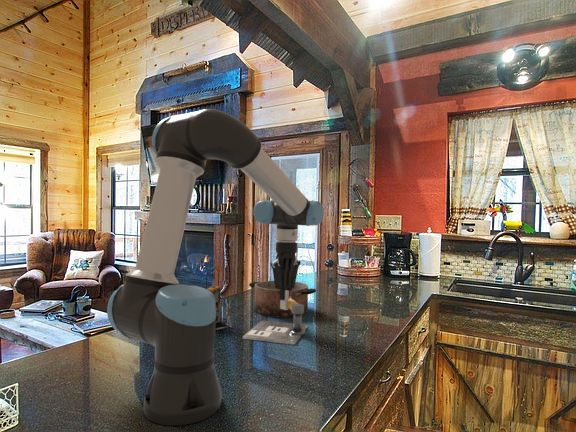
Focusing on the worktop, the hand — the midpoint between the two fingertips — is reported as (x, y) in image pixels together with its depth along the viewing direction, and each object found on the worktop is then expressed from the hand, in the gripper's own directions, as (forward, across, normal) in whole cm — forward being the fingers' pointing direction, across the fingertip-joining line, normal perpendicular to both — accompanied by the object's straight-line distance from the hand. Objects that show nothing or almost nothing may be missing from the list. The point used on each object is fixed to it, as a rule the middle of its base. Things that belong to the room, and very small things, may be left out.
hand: (284, 309), depth 126 cm
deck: (+7, -5, -2) cm, 9 cm away
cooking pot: (+7, +17, +19) cm, 27 cm away
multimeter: (+7, -14, +17) cm, 23 cm away
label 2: (+7, -5, -2) cm, 9 cm away
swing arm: (0, +1, -3) cm, 3 cm away
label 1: (+7, -12, -1) cm, 14 cm away
